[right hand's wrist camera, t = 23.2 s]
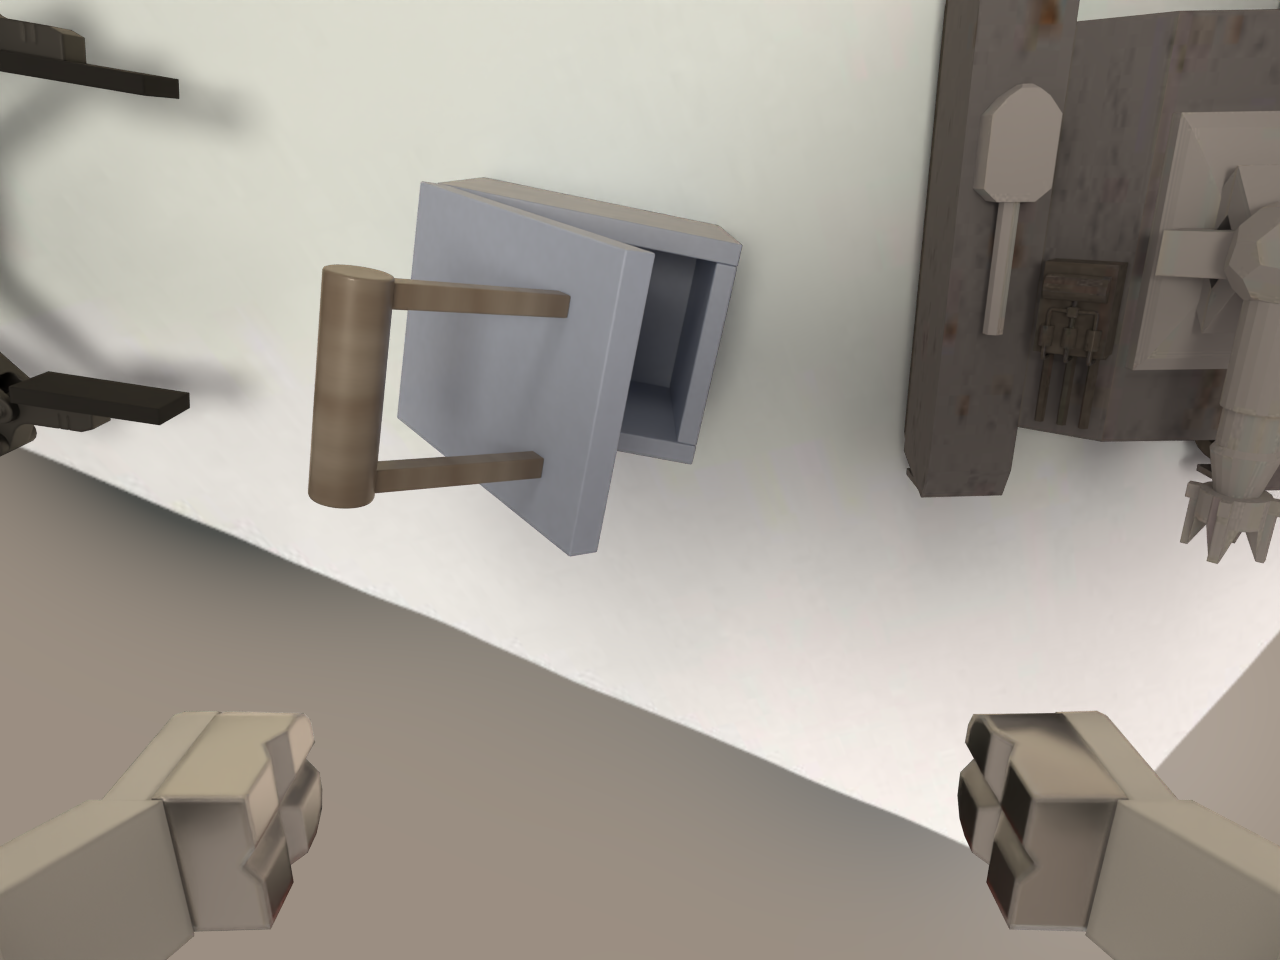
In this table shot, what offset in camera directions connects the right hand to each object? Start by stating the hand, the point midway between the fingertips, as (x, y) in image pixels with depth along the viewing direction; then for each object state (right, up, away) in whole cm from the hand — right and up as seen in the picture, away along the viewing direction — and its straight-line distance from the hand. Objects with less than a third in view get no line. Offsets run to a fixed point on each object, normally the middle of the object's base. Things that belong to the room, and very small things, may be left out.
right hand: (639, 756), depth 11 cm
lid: (-4, +8, +19) cm, 21 cm away
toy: (+24, +16, +33) cm, 44 cm away
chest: (-3, +13, +34) cm, 37 cm away
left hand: (-20, +13, +26) cm, 36 cm away
